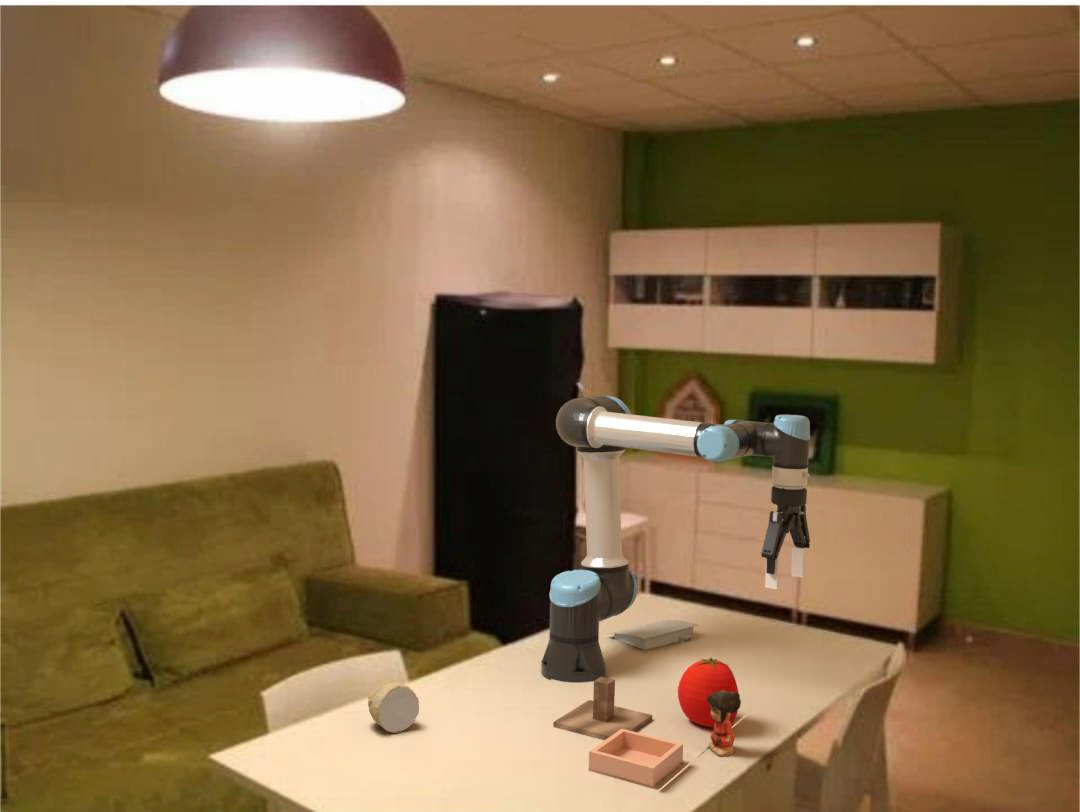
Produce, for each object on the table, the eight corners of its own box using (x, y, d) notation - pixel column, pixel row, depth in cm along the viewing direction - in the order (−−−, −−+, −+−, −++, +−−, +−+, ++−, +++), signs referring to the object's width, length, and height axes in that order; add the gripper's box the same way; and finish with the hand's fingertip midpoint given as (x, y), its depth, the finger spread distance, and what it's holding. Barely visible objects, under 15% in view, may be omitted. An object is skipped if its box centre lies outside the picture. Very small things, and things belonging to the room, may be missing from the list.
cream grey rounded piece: (379, 709, 202) (364, 674, 210) (376, 746, 207) (362, 711, 215) (426, 698, 206) (409, 664, 214) (422, 735, 211) (406, 701, 219)
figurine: (716, 741, 207) (718, 682, 206) (741, 749, 204) (744, 689, 203) (700, 751, 202) (702, 691, 201) (725, 759, 199) (728, 698, 198)
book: (706, 639, 276) (706, 625, 275) (644, 656, 261) (645, 640, 261) (664, 626, 287) (664, 612, 287) (602, 640, 273) (603, 626, 273)
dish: (588, 772, 192) (589, 751, 191) (620, 748, 203) (621, 728, 202) (652, 790, 185) (653, 768, 185) (682, 764, 196) (683, 744, 196)
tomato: (746, 723, 217) (748, 657, 216) (726, 741, 207) (729, 672, 206) (689, 710, 223) (691, 646, 222) (668, 728, 214) (670, 660, 212)
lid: (553, 726, 212) (554, 683, 211) (589, 704, 225) (590, 663, 224) (618, 743, 204) (620, 698, 203) (652, 719, 217) (653, 677, 216)
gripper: (781, 495, 214) (776, 596, 216) (827, 482, 234) (823, 574, 236) (748, 490, 218) (743, 590, 220) (796, 478, 238) (791, 569, 240)
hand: (784, 582), depth 228 cm, fingers open, 13 cm apart
